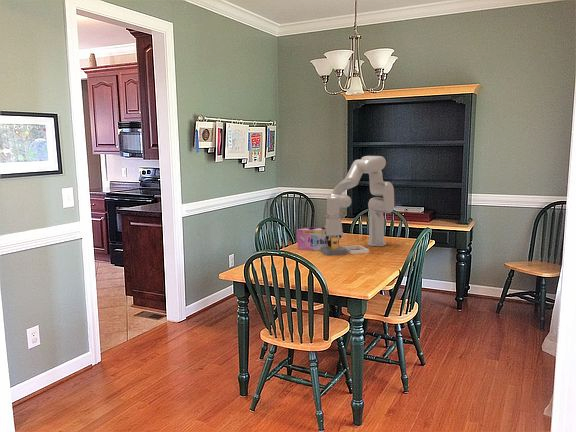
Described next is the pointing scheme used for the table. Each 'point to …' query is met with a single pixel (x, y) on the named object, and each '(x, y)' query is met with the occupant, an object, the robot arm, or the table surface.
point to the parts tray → (363, 250)
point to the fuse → (334, 243)
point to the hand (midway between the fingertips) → (333, 246)
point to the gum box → (311, 238)
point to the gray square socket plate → (333, 251)
